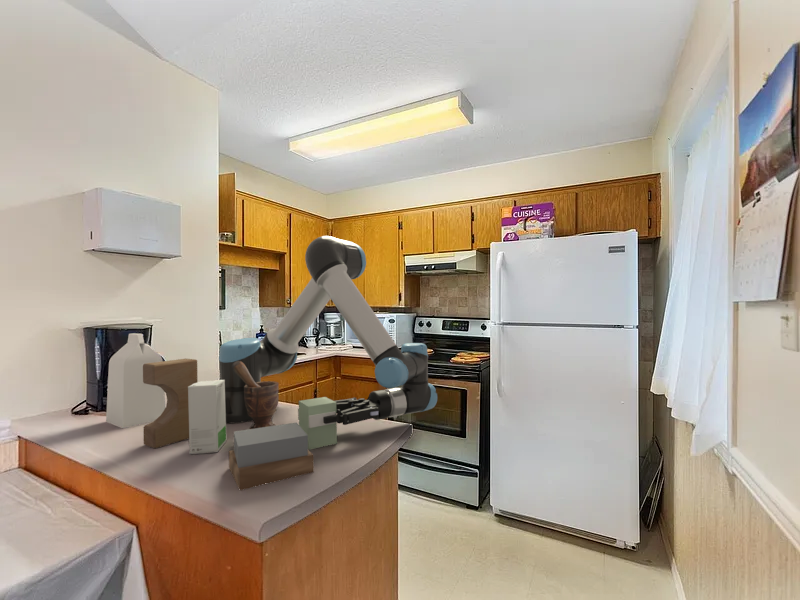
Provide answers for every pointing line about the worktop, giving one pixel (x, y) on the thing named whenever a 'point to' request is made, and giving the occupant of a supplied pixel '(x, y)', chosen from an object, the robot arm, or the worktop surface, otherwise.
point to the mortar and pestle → (258, 397)
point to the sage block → (321, 433)
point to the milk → (133, 386)
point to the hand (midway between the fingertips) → (303, 417)
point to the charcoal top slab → (269, 444)
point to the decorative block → (170, 400)
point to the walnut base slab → (269, 470)
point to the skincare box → (207, 416)
